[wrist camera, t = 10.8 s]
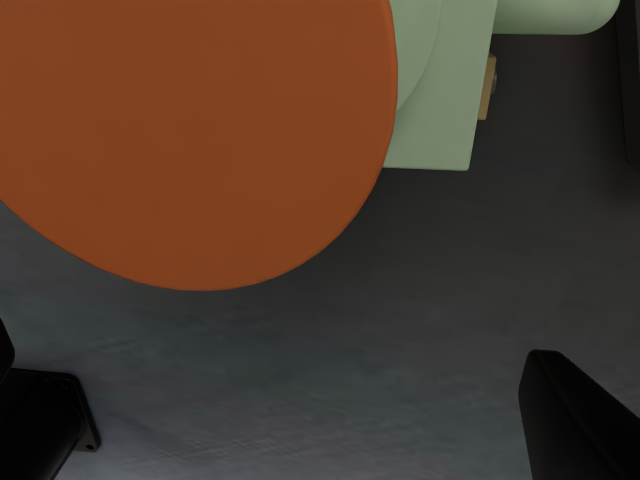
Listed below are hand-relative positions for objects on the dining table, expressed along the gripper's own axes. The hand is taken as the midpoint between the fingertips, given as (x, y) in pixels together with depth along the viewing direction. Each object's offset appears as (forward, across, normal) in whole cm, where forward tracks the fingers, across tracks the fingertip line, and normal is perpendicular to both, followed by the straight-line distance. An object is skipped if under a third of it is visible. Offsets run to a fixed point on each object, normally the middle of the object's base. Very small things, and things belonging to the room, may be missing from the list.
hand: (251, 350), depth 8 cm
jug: (+12, -2, -5) cm, 13 cm away
